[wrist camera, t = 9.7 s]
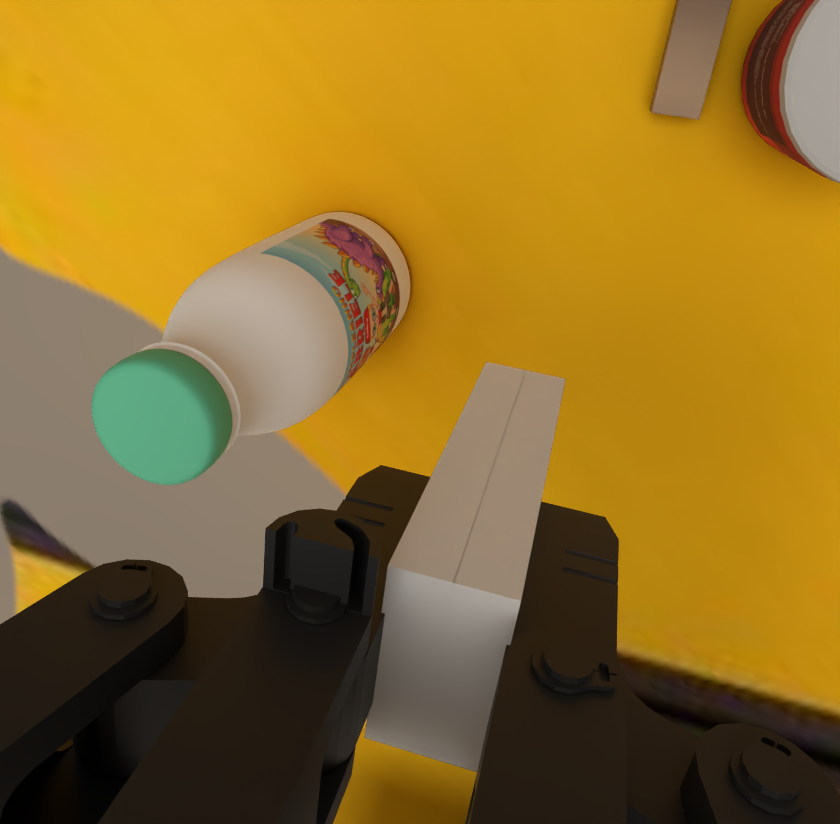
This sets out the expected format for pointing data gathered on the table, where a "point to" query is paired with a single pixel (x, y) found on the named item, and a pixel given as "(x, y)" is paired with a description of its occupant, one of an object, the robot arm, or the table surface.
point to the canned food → (797, 83)
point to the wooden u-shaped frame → (689, 57)
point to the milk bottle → (254, 346)
